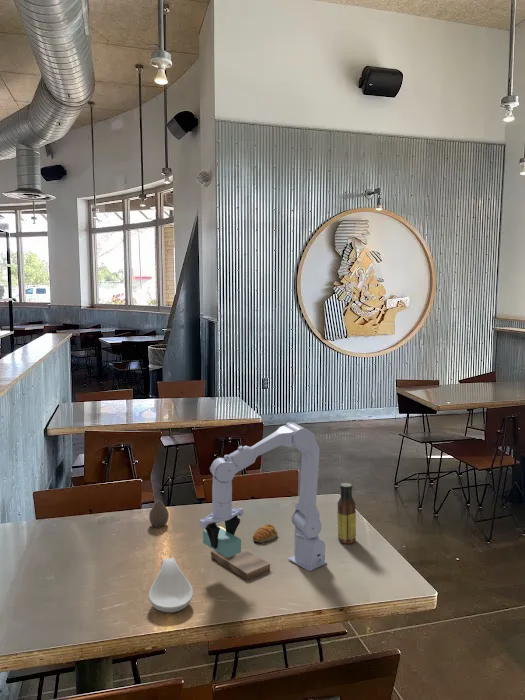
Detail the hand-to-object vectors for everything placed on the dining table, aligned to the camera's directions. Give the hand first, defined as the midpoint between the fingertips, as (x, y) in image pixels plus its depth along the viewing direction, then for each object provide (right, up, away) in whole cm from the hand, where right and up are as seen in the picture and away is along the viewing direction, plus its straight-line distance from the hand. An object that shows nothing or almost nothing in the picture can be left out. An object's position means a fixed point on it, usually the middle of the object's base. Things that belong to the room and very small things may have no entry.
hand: (221, 544), depth 154 cm
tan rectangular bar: (-1, -2, +15) cm, 15 cm away
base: (+5, -9, +9) cm, 13 cm away
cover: (0, -1, 0) cm, 1 cm away
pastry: (+13, -8, +27) cm, 31 cm away
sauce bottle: (+41, -8, +25) cm, 49 cm away
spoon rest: (-14, -11, -9) cm, 20 cm away
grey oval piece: (-26, -7, +36) cm, 45 cm away
